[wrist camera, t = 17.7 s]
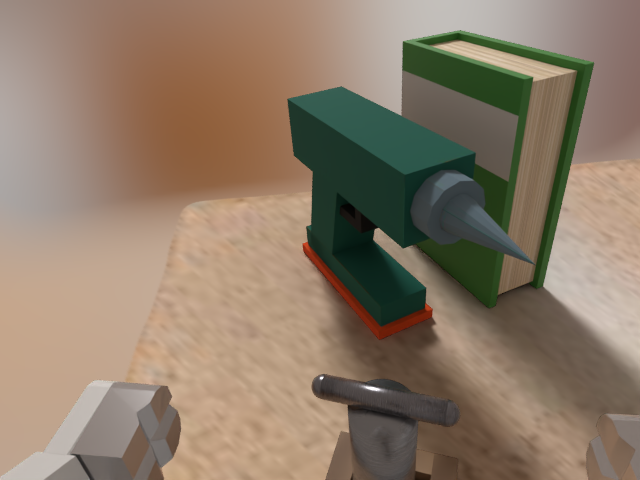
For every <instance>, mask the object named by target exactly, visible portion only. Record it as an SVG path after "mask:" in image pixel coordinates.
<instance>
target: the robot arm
mask: <svg viewBox="0 0 640 480" xmlns="http://www.w3.org/2000/svg"><path fill="white" fill-rule="evenodd" d="M171 398H172V395H171V393H170V391H169V389H168V386H161V385H149V384H138V383H127V382H116V381H101V380H95V381H93V382H92V383H90V384H89V385H88V386H87V387H86V388H85V390H84V391H83V393H82V394H81V396H80V397H79V399H78V400H77V402H76V403H75V405H74V406H73V408H72V409H71V411H70V412H69V414H68V415H67V417H66V419H65V420H64V421H63V423H62V425H61V426H60V428H59V429H58V430H57V432H56V433H55V435H54V436H53V438H52V440H51V441H50V443H49V444H48V446H47V447H46V449H45V450H44V452H35V453H34V454H32V455H31V456H30V457H28V458H27V459H25V460H24V461H22V462H21V463H20V464H18V465H17V466H15V467H14V468H12V469H11V470H10V471H8V472H7V473H5V474H4V475H2V476H1V477H0V480H164V476H163V472H162V467H163V466H164V465H165V464H166V463H168V462H169V461H170V460H171V459H172V458H173V457H174V454H175V452H176V449H177V447H178V444H179V438H180V432H181V422H180V417H179V414H178V411H177V410H176V409H174V408H173V407H172V406H171V405H169V402H170V400H171ZM596 427H597V429H598V432H599V435H600V436H598V437H597V438H595V439H593V440H591V441H590V443H589V447H588V450H587V453H586V468H587V474H588V479H589V480H640V415H627V414H607V413H605V414H603V415H602V416H600V418H599V420H598V423H597V425H596Z"/></svg>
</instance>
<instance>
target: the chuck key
mask: <svg viewBox="0 0 640 480" xmlns="http://www.w3.org/2000/svg"><path fill="white" fill-rule="evenodd" d="M312 391H313V393H314V395H315V396H316V397H318V398H320V399H324V400H328V401H333V402H337V403H342V404H346V405H348V418H349V432H350V446H351V460H352V475H353V480H415V468H416V450H417V433H418V420H419V421H423V422H428V423H432V424H437V425H441V426H446V427H450V426H453V425H455V424H456V423H457V422H458V421H459V419H460V409H459V407H458V406H457V404H456V403H455V402H453V401H451V400H448V399H444V398H439V397H434V396H429V395H424V394H419V393H414V392H411V391H410V390H409V389H408V388H407V387H405V386H404V385H402V384H400V383H398V382H395V381H392V380H387V379H376V380H371V381H368V382H361V381H356V380H351V379H346V378H341V377H336V376H331V375H327V374H321V375H318V376H317V377H315V378H314V380H313V382H312Z"/></svg>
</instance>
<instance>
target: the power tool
mask: <svg viewBox="0 0 640 480" xmlns="http://www.w3.org/2000/svg"><path fill="white" fill-rule="evenodd" d="M288 108H289V117H290V126H291V134H292V143H293V152H294V156H295V157H296V158H298V159H299V160H300V161H301V162H302V163H303V164H305V165H306V166H307V167H308V168H309V169H310V170H312V171H313V181H312V217H311V225H310V226H307V227H306V229H307V239H308V242H306V243H303V251H304V252H305V253H306V254H307V255H308V257H309V258H310V259H311V260H312V261H313V262H314V264H315V265H316V266H317V267H318V268H319V270H320V271H321V272H322V273H323V274H324V275H325V277H326V278H327V279H328V280H329V281H330V283H331V284H332V285H333V286H334V287H335V288H336V290H337V291H338V292H339V293H340V294H341V295H342V297H343V298H344V299H345V300H346V301H347V303H348V304H349V305H350V306H351V307H352V308H353V310H354V311H355V312H356V313H357V314H358V315H359V317H360V318H361V319H362V320H363V321H364V323H365V324H366V325H367V326H368V327H369V328H370V330H371V331H372V332H373V333H374V334H375V335H376V337H377V338H378V339H379V340H380V339H383V338H385V337H387V336H389V335H392V334H394V333H396V332H399V331H401V330H403V329H406V328H408V327H410V326H412V325H415V324H417V323H419V322H422V321H424V320H426V319H428V318H431V317H432V310H433V309H432V308H431V307H430V306H429V305H427V304H426V303H425V302H426V287H425V286H423V285H422V284H421V283H420V282H419V281H418V280H417V279H416V278H415V277H413V276H412V275H411V274H410V273H409V272H408V271H407V270H406V269H405V268H403V267H402V266H401V265H400V264H399V263H398V262H397V261H396V260H395V259H393V258H392V257H391V256H390V255H389V254H388V253H387V252H386V251H385V250H383V249H382V248H381V247H380V246H379V245H378V244H377V243H376V242H375V241H374V240H373V236H374V230H375V229H376V228H380V229H381V230H382V231H383V232H384V233H386V234H387V235H388V236H389V237H390V238H392V239H393V240H394V241H395V242H396V243H397V244H399V245H400V246H401V247H402V248H406V247H409V246H411V245H414V244H417V243H419V242H422V241H425V240H428V239H430V238H431V239H433V240H434V241H436V242H437V243H438V244H440V245H444V244H453V243H456V242H457V241H459V240H460V239H462V238H463V239H466V240H469V241H471V242H474V243H477V244H479V245H482V246H485V247H488V248H490V249H493V250H496V251H498V252H501V253H504V254H506V255H509V256H512V257H514V258H517V259H520V260H523V261H525V262H528V263H531V264H533V265H535V264H534V263H533V262H532V260H531V259H530V258H529V257H528V256H527V255H526V254H525V253H524V252H523V251H522V250H521V249H520V248H519V247H518V246H517V245H516V244H515V242H514V241H513V240H512V239H511V238H510V237H509V236H508V235H507V234H506V233H505V232H504V231H503V230H502V229H501V228H500V227H499V226H498V225H497V223H496V222H495V221H494V220H493V219H492V218H491V217H490V216H489V215H488V214H487V213H486V212H485V211H484V210H483V209H484V206H485V204H486V203H485V195H484V189H483V188H482V187H481V186H480V185H479V184H478V183H477V182H476V181H475V180H473V176H474V167H475V158H476V152H474V151H472V150H470V149H468V148H466V147H463V146H461V145H459V144H457V143H455V142H453V141H451V140H449V139H447V138H445V137H443V136H441V135H439V134H437V133H435V132H433V131H431V130H429V129H427V128H425V127H423V126H421V125H419V124H417V123H415V122H413V121H411V120H409V119H406V118H404V117H402V116H400V115H398V114H396V113H394V112H392V111H390V110H388V109H386V108H384V107H382V106H380V105H378V104H376V103H374V102H372V101H370V100H368V99H365V98H364V97H362V96H360V95H358V94H356V93H353V92H351V91H349V90H347V89H345V88H343V87H337V88H333V89H328V90H324V91H320V92H315V93H311V94H307V95H302V96H298V97H293V98H289V99H288Z"/></svg>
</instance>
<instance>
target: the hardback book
mask: <svg viewBox="0 0 640 480" xmlns="http://www.w3.org/2000/svg"><path fill="white" fill-rule="evenodd" d="M593 66H594V62H590V61H585V60H581V59H577V58H573V57H569V56H565V55H561V54H557V53H552V52H548V51H544V50H540V49H536V48H532V47H527V46H523V45H519V44H515V43H510V42H507V41H502V40H498V39H494V38H490V37H485V36H481V35H477V34H473V33H469V32H465V31H461V30H460V31H454V32H449V33H444V34H439V35H433V36H429V37H423V38H418V39H412V40H407V41H403V66H402V68H403V69H402V117H404V118H406V119H409V120H411V121H413V122H415V123H417V124H419V125H421V126H423V127H425V128H427V129H429V130H431V131H433V132H435V133H437V134H439V135H441V136H443V137H445V138H447V139H449V140H451V141H453V142H455V143H457V144H459V145H461V146H463V147H466V148H468V149H470V150H472V151H474V152H476V158H475V167H474V176H473V180H475V181H476V182H477V183H478V184H479V185H480V186H481V187H482V188H483V189H484V195H485V203H486V204H485V206H484V209H483V210H484V211H485V212H486V213H487V214H488V215H489V216H490V217H491V218H492V219H493V220H494V221H495V222H496V223H497V225H498V226H499V227H500V228H501V229H502V230H503V231H504V232H505V233H506V234H507V235H508V236H509V237H510V238H511V239H512V240H513V241H514V242H515V244H516V245H517V246H518V247H519V248H520V249H521V250H522V251H523V252H524V253H525V254H526V255H527V256H528V257H529V258H530V259H531V260H532V262H533V263H534V264H535V265H533V264H531V263H528V262H525V261H523V260H520V259H517V258H514V257H512V256H509V255H506V254H504V253H501V252H498V251H496V250H493V249H490V248H488V247H485V246H482V245H479V244H477V243H474V242H471V241H469V240H466V239H463V238H462V239H460V240H459V241H457V242H456V243H453V244H444V245H440V244H438V243H437V242H436V241H434V240H433V239H431V238H430V239H428V240H425V241H422V242H419V243H417V244H416V245H417V246H418V247H419V248H420V249H422V250H423V251H424V252H425V253H426V254H427V255H428V256H430V257H431V258H432V259H433V260H434V261H435V262H436V263H438V264H439V265H440V266H441V267H442V268H443V269H444V270H446V271H447V272H448V273H449V274H450V275H451V276H452V277H454V278H455V279H456V280H457V281H458V282H459V283H460V284H462V285H463V286H464V287H465V288H466V289H467V290H468V291H470V292H471V293H472V294H473V295H474V296H475V297H476V298H478V299H479V300H480V301H481V302H482V303H483V304H484V305H486V306H487V307H488V308H491V307H493V306H496V302H497V295H499V294H501V293H504V292H506V291H509V290H511V289H514V288H516V287H519V286H521V285H524V284H526V283H529V284H530V285H532V286H533V287H534V288H536V289H537V288H540V287H542V286H543V283H544V279H545V275H546V270H547V266H548V262H549V257H550V253H551V249H552V244H553V240H554V236H555V231H556V227H557V222H558V218H559V214H560V209H561V205H562V201H563V196H564V192H565V188H566V183H567V179H568V175H569V170H570V166H571V161H572V157H573V153H574V148H575V144H576V140H577V135H578V131H579V127H580V122H581V118H582V114H583V109H584V105H585V100H586V96H587V92H588V87H589V83H590V79H591V74H592V70H593Z"/></svg>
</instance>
